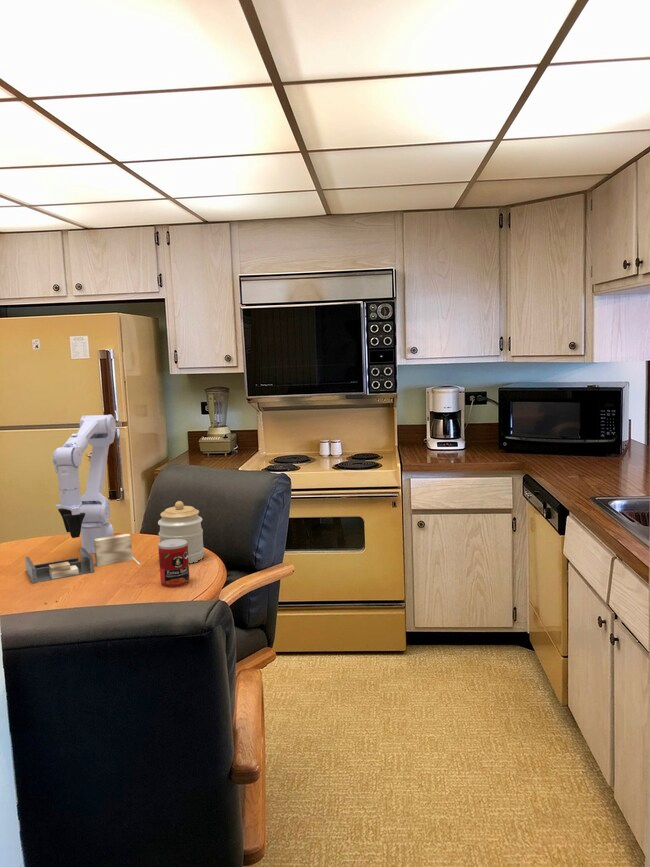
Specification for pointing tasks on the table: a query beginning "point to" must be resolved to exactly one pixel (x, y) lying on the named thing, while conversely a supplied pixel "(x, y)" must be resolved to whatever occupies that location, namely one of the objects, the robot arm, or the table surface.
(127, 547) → the wooden block
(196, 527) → the jar
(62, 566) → the offcut upper
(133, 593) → the table surface
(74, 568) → the offcut lower
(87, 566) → the rack
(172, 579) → the canned food
